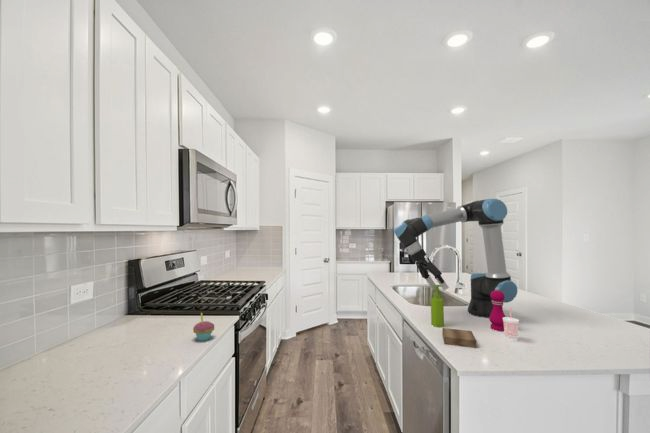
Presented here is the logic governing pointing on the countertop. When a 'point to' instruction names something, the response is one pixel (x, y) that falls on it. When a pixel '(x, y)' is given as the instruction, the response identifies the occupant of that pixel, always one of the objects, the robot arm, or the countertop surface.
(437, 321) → the soap dispenser
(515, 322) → the beverage cup
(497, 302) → the pepper mill
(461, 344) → the plinth
